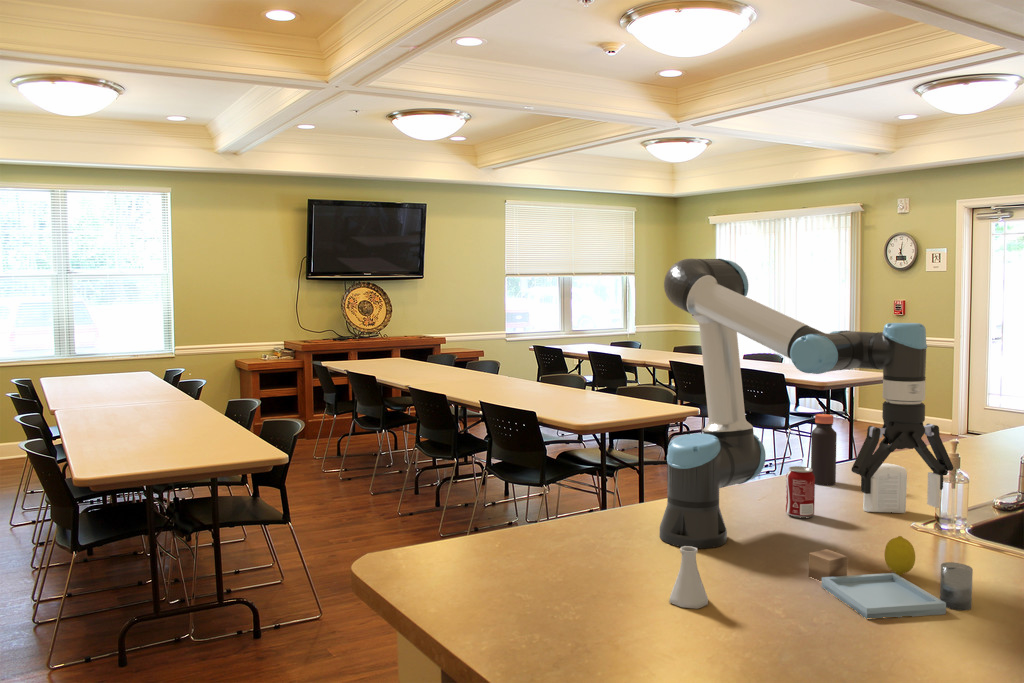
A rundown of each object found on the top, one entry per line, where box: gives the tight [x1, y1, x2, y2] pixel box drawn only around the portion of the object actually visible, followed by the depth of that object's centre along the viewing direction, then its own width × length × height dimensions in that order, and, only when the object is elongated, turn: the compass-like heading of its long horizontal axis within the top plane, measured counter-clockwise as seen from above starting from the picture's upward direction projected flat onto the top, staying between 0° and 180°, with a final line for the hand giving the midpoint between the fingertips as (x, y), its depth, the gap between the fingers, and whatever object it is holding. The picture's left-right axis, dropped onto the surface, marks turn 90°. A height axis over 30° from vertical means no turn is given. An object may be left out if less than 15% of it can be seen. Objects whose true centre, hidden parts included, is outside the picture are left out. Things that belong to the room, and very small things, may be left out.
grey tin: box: [939, 561, 974, 611], centre depth 144 cm, size 5×5×7 cm
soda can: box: [785, 465, 816, 519], centre depth 200 cm, size 7×7×12 cm
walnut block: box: [808, 548, 848, 582], centre depth 157 cm, size 5×5×5 cm
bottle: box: [810, 413, 837, 486], centre depth 233 cm, size 7×7×20 cm
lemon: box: [884, 535, 916, 577], centre depth 159 cm, size 6×6×8 cm
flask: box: [668, 546, 709, 609], centre depth 146 cm, size 7×7×10 cm
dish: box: [821, 572, 947, 620], centre depth 146 cm, size 15×15×2 cm
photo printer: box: [862, 462, 908, 514], centre depth 203 cm, size 10×4×12 cm, turn 84°
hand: (901, 507), depth 158 cm, fingers open, 13 cm apart
